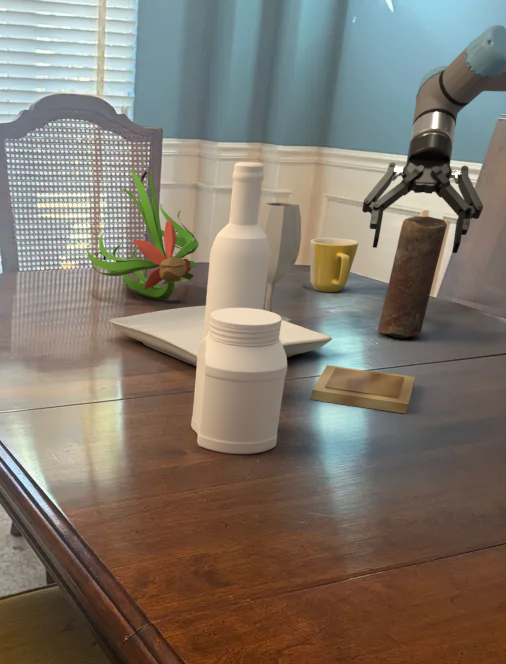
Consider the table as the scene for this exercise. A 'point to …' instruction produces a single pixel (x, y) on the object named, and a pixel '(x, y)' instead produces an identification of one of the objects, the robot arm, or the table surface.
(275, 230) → the wineglass
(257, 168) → the bottle
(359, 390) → the board
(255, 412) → the jar
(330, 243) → the mug
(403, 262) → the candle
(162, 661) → the table surface
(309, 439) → the table surface
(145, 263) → the decorative plant
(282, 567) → the table surface
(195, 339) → the square plate
